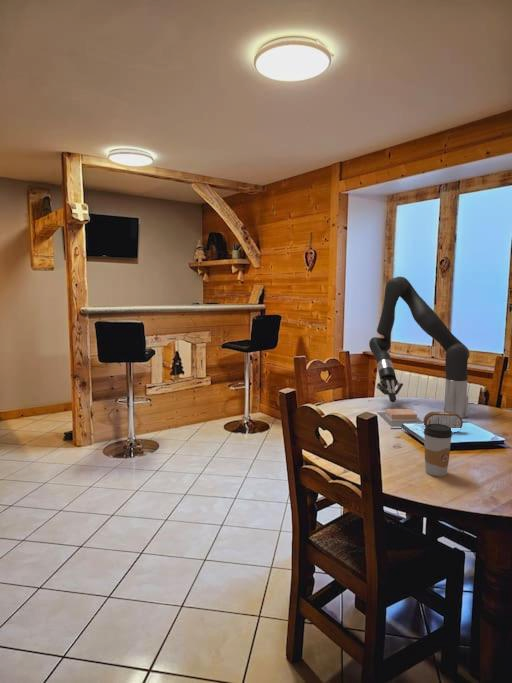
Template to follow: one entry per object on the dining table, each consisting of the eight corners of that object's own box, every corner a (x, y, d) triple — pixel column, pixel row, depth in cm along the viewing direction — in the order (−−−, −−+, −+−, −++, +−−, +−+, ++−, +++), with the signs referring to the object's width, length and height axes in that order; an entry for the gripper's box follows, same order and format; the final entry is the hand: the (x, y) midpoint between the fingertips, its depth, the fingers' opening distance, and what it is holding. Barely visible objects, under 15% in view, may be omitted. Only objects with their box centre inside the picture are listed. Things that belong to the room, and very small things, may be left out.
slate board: (410, 414, 208) (410, 412, 208) (429, 429, 186) (429, 426, 186) (376, 414, 208) (376, 412, 208) (391, 429, 186) (391, 426, 186)
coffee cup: (436, 480, 136) (438, 432, 134) (416, 470, 143) (418, 425, 142) (456, 475, 139) (458, 429, 137) (435, 466, 147) (437, 421, 145)
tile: (409, 409, 202) (417, 414, 193) (409, 415, 202) (416, 421, 193) (385, 409, 202) (391, 414, 193) (385, 415, 202) (391, 421, 193)
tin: (460, 431, 183) (461, 411, 182) (463, 434, 180) (464, 413, 179) (422, 430, 184) (423, 410, 183) (424, 432, 181) (425, 412, 180)
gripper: (374, 366, 215) (381, 397, 204) (401, 366, 215) (409, 397, 204) (371, 375, 221) (377, 405, 210) (397, 375, 221) (405, 405, 210)
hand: (393, 401), depth 207 cm, fingers closed
